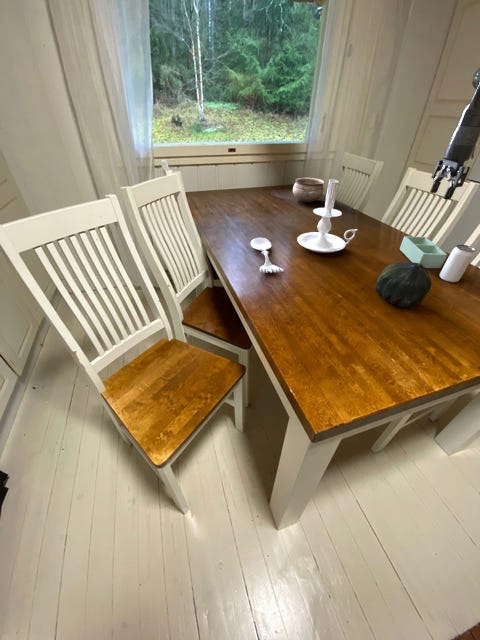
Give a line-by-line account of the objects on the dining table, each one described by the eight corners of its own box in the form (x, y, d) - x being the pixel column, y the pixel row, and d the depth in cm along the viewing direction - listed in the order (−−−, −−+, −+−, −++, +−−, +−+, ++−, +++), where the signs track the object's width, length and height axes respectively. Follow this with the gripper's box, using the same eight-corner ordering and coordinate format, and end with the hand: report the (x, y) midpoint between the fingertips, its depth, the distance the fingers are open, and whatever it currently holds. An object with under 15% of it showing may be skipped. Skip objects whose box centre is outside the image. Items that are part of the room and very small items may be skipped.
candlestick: (360, 258, 113) (383, 185, 95) (300, 258, 113) (313, 184, 95) (344, 239, 129) (362, 173, 111) (292, 238, 129) (302, 172, 111)
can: (458, 284, 98) (477, 253, 90) (438, 279, 101) (454, 249, 93) (458, 276, 102) (476, 246, 95) (439, 272, 105) (454, 242, 97)
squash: (382, 266, 96) (391, 247, 82) (429, 279, 91) (447, 261, 77) (367, 303, 95) (373, 289, 81) (413, 318, 90) (429, 306, 76)
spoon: (259, 278, 99) (259, 270, 97) (249, 243, 124) (249, 235, 122) (283, 278, 100) (284, 269, 98) (268, 242, 125) (269, 235, 123)
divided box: (420, 249, 121) (425, 236, 117) (440, 268, 107) (447, 254, 104) (399, 248, 121) (404, 236, 117) (417, 267, 108) (423, 254, 104)
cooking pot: (287, 196, 185) (290, 176, 177) (315, 196, 186) (318, 176, 178) (296, 207, 165) (299, 185, 158) (326, 207, 167) (331, 185, 159)
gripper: (489, 145, 83) (462, 201, 93) (460, 140, 94) (438, 190, 104) (465, 145, 83) (440, 201, 93) (438, 140, 94) (419, 190, 104)
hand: (439, 195), depth 98 cm, fingers open, 8 cm apart
